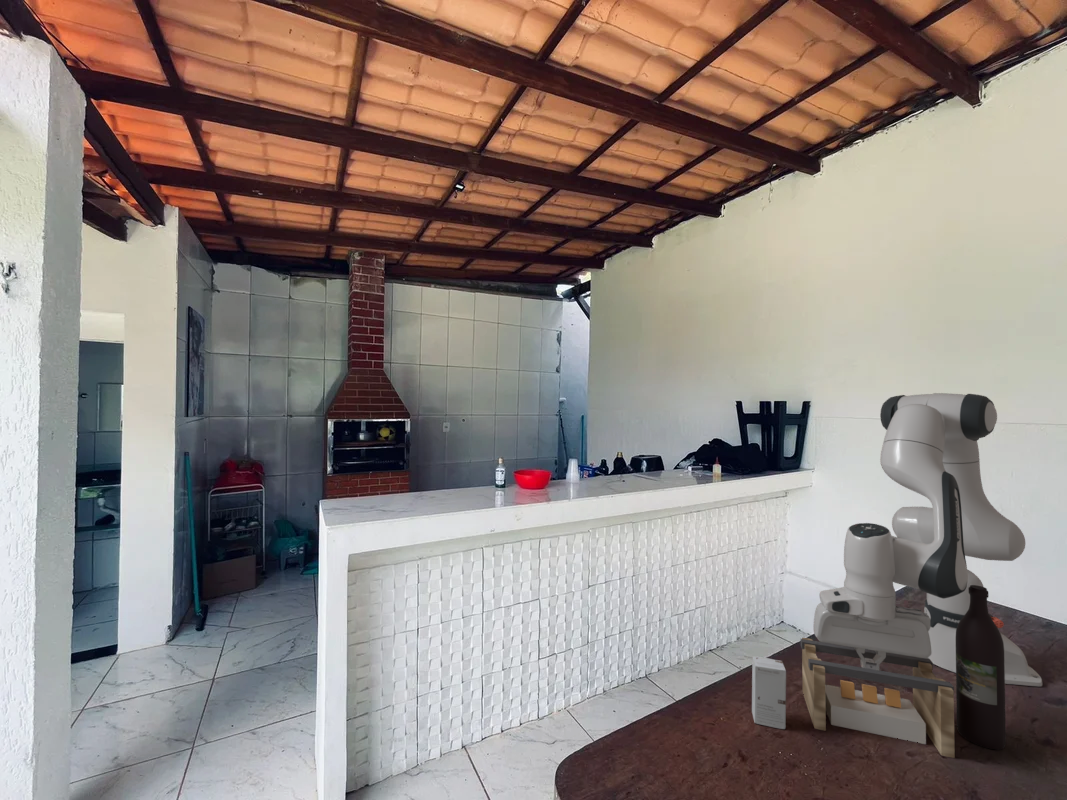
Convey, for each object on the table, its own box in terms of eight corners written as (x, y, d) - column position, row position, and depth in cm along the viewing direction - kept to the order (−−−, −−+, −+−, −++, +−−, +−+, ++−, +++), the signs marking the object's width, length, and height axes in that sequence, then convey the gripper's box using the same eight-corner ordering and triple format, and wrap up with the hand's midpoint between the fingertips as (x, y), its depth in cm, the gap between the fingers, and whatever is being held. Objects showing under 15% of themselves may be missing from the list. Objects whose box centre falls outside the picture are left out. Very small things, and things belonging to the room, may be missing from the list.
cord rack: (924, 715, 100) (923, 656, 100) (954, 758, 87) (953, 690, 88) (802, 692, 108) (802, 637, 108) (814, 728, 96) (813, 666, 96)
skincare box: (754, 724, 97) (753, 666, 97) (751, 710, 101) (750, 655, 101) (787, 730, 95) (786, 671, 95) (782, 716, 99) (782, 659, 100)
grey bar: (949, 690, 90) (949, 682, 90) (953, 695, 89) (953, 686, 89) (808, 666, 99) (808, 658, 99) (809, 670, 97) (809, 662, 97)
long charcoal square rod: (929, 666, 98) (929, 658, 98) (932, 670, 97) (932, 662, 97) (800, 645, 107) (800, 638, 107) (801, 649, 105) (801, 642, 105)
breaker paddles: (899, 706, 96) (897, 690, 97) (901, 707, 95) (899, 691, 96) (840, 695, 100) (839, 679, 101) (842, 696, 99) (840, 681, 100)
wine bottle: (947, 725, 96) (945, 580, 97) (982, 726, 96) (980, 580, 97) (978, 750, 89) (976, 594, 90) (1016, 751, 89) (1014, 594, 90)
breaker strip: (909, 718, 99) (909, 699, 99) (925, 744, 91) (925, 723, 91) (822, 701, 104) (822, 683, 104) (831, 724, 97) (831, 705, 97)
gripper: (923, 604, 97) (924, 671, 97) (811, 590, 104) (811, 652, 104) (937, 617, 91) (938, 688, 91) (817, 601, 99) (818, 667, 98)
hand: (869, 669), depth 98 cm, fingers closed
